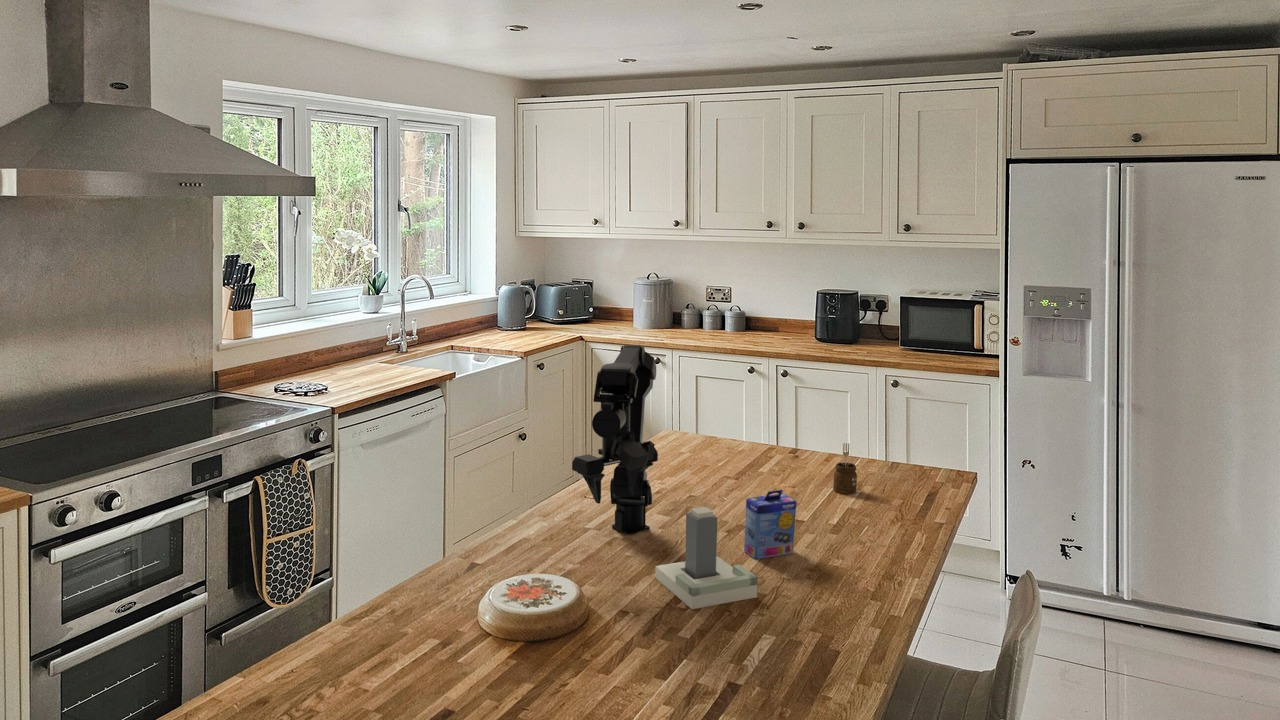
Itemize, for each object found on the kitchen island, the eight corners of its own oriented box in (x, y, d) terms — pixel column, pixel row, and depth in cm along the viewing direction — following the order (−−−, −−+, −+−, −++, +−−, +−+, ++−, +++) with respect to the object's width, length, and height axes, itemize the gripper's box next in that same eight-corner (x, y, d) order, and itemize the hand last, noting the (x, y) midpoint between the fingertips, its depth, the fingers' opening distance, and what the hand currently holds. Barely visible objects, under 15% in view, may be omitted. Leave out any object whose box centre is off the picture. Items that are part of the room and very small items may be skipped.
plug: (684, 580, 194) (686, 508, 191) (704, 576, 195) (706, 505, 193) (695, 588, 190) (696, 515, 187) (715, 585, 191) (717, 512, 189)
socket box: (655, 577, 195) (655, 558, 194) (716, 567, 201) (717, 548, 200) (691, 609, 181) (692, 588, 180) (756, 597, 186) (757, 577, 186)
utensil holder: (833, 493, 250) (835, 448, 248) (832, 486, 257) (834, 442, 254) (856, 495, 250) (859, 450, 247) (855, 488, 256) (857, 443, 254)
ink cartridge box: (755, 560, 205) (758, 494, 202) (742, 551, 210) (744, 487, 207) (795, 554, 209) (798, 489, 206) (781, 545, 214) (783, 482, 211)
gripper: (604, 441, 188) (603, 518, 191) (675, 427, 200) (674, 500, 203) (570, 429, 197) (570, 503, 199) (641, 417, 209) (640, 487, 211)
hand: (615, 498), depth 203 cm, fingers open, 9 cm apart
